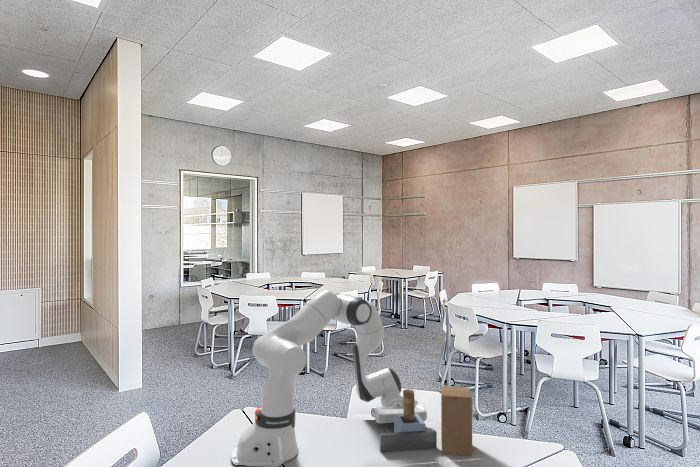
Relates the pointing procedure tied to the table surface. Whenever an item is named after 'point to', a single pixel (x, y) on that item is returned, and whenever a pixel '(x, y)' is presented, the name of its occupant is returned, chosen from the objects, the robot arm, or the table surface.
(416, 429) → the blue hollow square block
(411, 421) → the dowel
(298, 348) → the robot arm
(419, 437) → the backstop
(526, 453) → the table surface
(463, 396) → the wooden block
